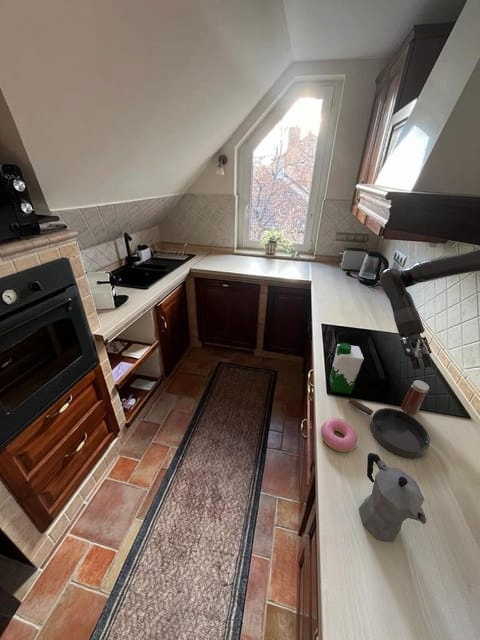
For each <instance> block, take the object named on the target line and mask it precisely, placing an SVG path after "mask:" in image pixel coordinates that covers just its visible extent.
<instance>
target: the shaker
mask: <svg viewBox="0 0 480 640" xmlns="http://www.w3.org/2000/svg"><path fill="white" fill-rule="evenodd" d="M429 390H430V386H429V384H427V383H426V382H425V381H423V380H419V379H417V380H414V381H413V382H412V383H411V384H410V386H409V388H408V390H407V392H406V394H405V396H404V398H403V400H402V402H401V404H400V408H401V411H403V412H405V413H407V414H409V415H411V416H416V415H417V414H418V412H419V410H420V409H421V407H422V405H423V404H424V401H425V400H426V398H427V396H428V394H429V392H430V391H429Z"/></svg>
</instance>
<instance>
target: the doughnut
mask: <svg viewBox="0 0 480 640" xmlns="http://www.w3.org/2000/svg"><path fill="white" fill-rule="evenodd" d="M320 432H321V433H320V434H321V437H322V440H323V441H324V442H325V444H326V445H327V446H329V448H331V449H332V450H334V451H337V452H340V453H341V452H342V453H346V452H350V451H352V450H353V449H354V448H355V447H356V446H357V445H358V435H357V432H356V429H354V427H353V426H352V425H351V424H349V422H347V421H345V420H343V419H340V418H334V417H333V418H330V419H327V420H325V421H324V423H323V424H322V425H321V428H320ZM335 432H338V433H340V434H342V435H343V437H340V436H337V435H336V434H335Z"/></svg>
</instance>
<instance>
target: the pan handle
mask: <svg viewBox="0 0 480 640" xmlns="http://www.w3.org/2000/svg"><path fill="white" fill-rule="evenodd" d="M347 404H350V405H351V406H352V407H354V408H356V409H358V410H359V411H361V412H363V414H364V413H365V414H366V415H367V416H369V417H372V416H373V414H374V410H373V409H371V408H370V407H368V406H366V405H365V404H363V403H362V402H359V401H358V400H357V399H354V398H353V397H351V398H349V400H348V402H347Z"/></svg>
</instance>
